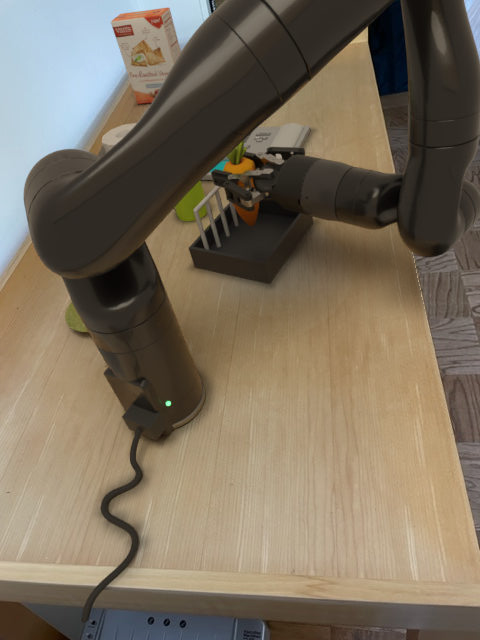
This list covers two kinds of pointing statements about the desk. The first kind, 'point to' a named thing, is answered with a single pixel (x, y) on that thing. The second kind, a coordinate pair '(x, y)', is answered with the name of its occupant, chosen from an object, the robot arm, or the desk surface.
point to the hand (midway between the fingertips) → (226, 167)
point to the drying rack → (247, 240)
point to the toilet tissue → (114, 137)
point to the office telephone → (270, 141)
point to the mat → (74, 319)
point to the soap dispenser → (191, 204)
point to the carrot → (239, 166)
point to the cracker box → (147, 49)
